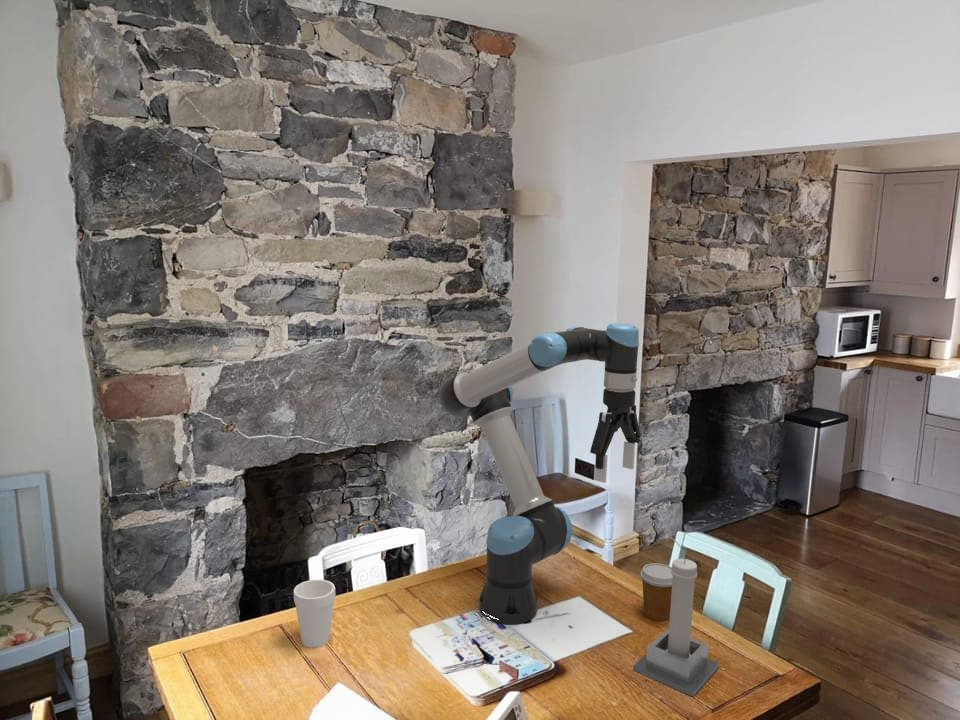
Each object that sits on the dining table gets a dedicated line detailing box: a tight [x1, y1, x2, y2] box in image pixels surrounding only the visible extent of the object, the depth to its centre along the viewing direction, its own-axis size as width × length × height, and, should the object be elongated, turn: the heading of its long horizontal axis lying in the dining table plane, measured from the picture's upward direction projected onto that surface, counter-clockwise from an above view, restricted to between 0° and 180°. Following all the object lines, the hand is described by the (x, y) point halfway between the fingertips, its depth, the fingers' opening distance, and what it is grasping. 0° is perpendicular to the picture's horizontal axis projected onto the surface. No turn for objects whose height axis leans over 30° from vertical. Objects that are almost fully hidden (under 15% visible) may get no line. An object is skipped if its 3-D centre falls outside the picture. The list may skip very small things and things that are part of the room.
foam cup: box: [293, 579, 336, 649], centre depth 165 cm, size 10×9×13 cm
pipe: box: [666, 536, 698, 660], centre depth 155 cm, size 6×6×30 cm
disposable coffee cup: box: [640, 562, 673, 621], centre depth 181 cm, size 10×10×12 cm
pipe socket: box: [632, 628, 720, 698], centre depth 158 cm, size 14×14×6 cm
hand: (614, 474), depth 171 cm, fingers open, 13 cm apart
